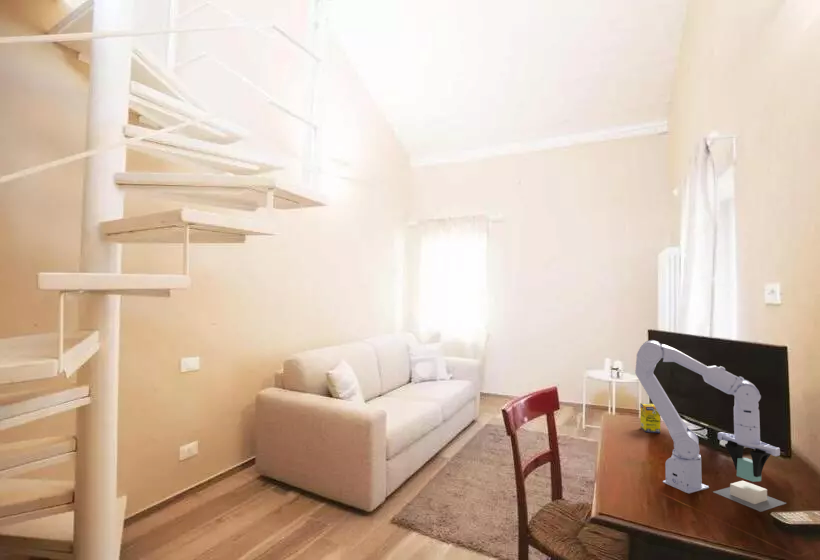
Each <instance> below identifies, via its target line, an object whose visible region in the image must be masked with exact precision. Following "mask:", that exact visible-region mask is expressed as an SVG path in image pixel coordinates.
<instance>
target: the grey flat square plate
mask: <svg viewBox="0 0 820 560" xmlns="http://www.w3.org/2000/svg"><path fill="white" fill-rule="evenodd" d="M713 493H714V494H717V495H719V496H721V497H724V498H726V499H728V500H731V501H733V502H735V503H738V504H741V505H743V506H746V507H748V508H749V509H753V510H756V511H757V512H760V513H761V512H765V511H768V510H771V509H773V508H776V507H780V506H784V505H787V502H786V501H785V502H784V501H782V500H779V499H776V498H774V497H771V496H769V495H767V500H766V501H763V502H760V503H757V504H753V503H750V502H748V501H745V500H743V499H740V498H738V497H735V496H733V495H730V486H728V487H725V488H721V489H718V490H714V491H713Z"/></svg>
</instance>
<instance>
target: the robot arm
mask: <svg viewBox="0 0 820 560" xmlns="http://www.w3.org/2000/svg"><path fill="white" fill-rule="evenodd" d="M661 360H662V363H676V364H678V365H679V366H682V367H684V368H686V369H688V370H690V371H692V372H694V373H695V374H699V375H700V376H702V379H703V382H705V383H707V385H710V386H712V387H714V388H715V389H718V390H720V391H721V392H723V393H724V394H727V395H732V396H734V400H733V401H734V403H733V404H734V406H733V431H734V432H733V433H729V432H728V433H726V432H722V431H720V432H717V440H719V441H726V442H727V443H725V444H724V446H725V449H726V450H727V452H728V453H729V455H730V457H731V459H732V461H733V462H732V463H733V465H734V468H735V471H737V458H744V457H743V456H744V449H745V448H749V449H753V450H751V451H749V454H750V457H751V460H752V461H753V474H754V476H755V477H760V476H761V477H762V472H763V470H764V466H765V465H766V462H767V461H768V459H769V458H770V457H771V456H774V457H778V456H780V455H781V448H780V447H777V446H774V445H771V444H769V443H766V442H763V441H761V425H760V424H761V423H760V421H761V420H760V409H759V407H760V406H759V405H760V404H759V402H760V400H761V399H762V395H761V394H760V391H759V389H758V388H757V387H756V385H755V384H754V383H752V382H751V381H750V380H748V379H745V378H744V377H743V376H740V375H739V376H737V375H735V374H733V373H731V372H729V371H727V370H726V368H725V367H724V366H721V365H720V366H717V365H708V366H707V365H706V364H704V363H703V362H700V361H699V360H697V359H695V358H693V357H691V356H689V355H687V354H685V353H684V352H682V351H680V350H678V349H676V348H674V347H672V346H669V345H667V344H664V343H660V341H657V340H654V339H650V340H646V341H645V342H643V343H642V344H641V346H640V347H639V349H638V351H637V353H636V361H635V370H634V371H635V376H636V377H637V378H638V380H639V382H640V384H641V386H642V387H643V389H644V391H645V392H646V394H647V396H648V398H649V399H650V401H651V402H652V404H654V406H655V407H656V409H657V411H658V412H659V414H660V419H661V420H662V421H663V422H664V424H665V426H666V428H667V430H668V432H669V435H670V437H671V440H673V441H672V442H673V449H672V454H671V457H669V458H667V459H666V461H665V465H664V466H665V467H664V468H665V480H662V483H663V484H666V485H668V486H671V487H673V488H675V489H678V490H680V491H682V492H684V493H687V494H692V493H696V492H700V491H703V490H707V489H709V488H710V487H709V485H706V484H705V483H702V482H703V479H702V456H701V453H700V445H699V437H698V434H696V433H695V432H694V431H692V430H691V429H690V428H689V426H688V425H687V424H686V422H684V420H683V419H682V417H681V416H680V415H679V413H678V411H677V409H676V407H675V406H674V405H673V403H672V401H671V400H670V398H669V396H668V394H667V392H666V391H665V389H664V388H663V386H662V384H661V383H660V381H659V380H658V378H657V376H656V375H655V374H654V371H655V369H656V366H657V364H658V363H659V361H661Z"/></svg>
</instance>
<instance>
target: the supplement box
mask: <svg viewBox="0 0 820 560" xmlns="http://www.w3.org/2000/svg"><path fill="white" fill-rule="evenodd" d="M639 406H640V409H639V410H640V415H639V416H640V420H639V421H640V429H641V430H642V431H643V432H645V433H650V434H651V433H653V434H661V416H660V414H659V412H658V411H657V409H656V407H655V406H654V404H653V403H642V402H641V403H640V405H639Z"/></svg>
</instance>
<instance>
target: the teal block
mask: <svg viewBox="0 0 820 560" xmlns="http://www.w3.org/2000/svg"><path fill="white" fill-rule="evenodd" d="M736 477H737V478H742V479H744V480H746V481H750V482H752V483H753V482H762V475H761V476H760V477H755V476H754V474H753V461H752V458H748V457H743V458H737V470H736Z"/></svg>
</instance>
